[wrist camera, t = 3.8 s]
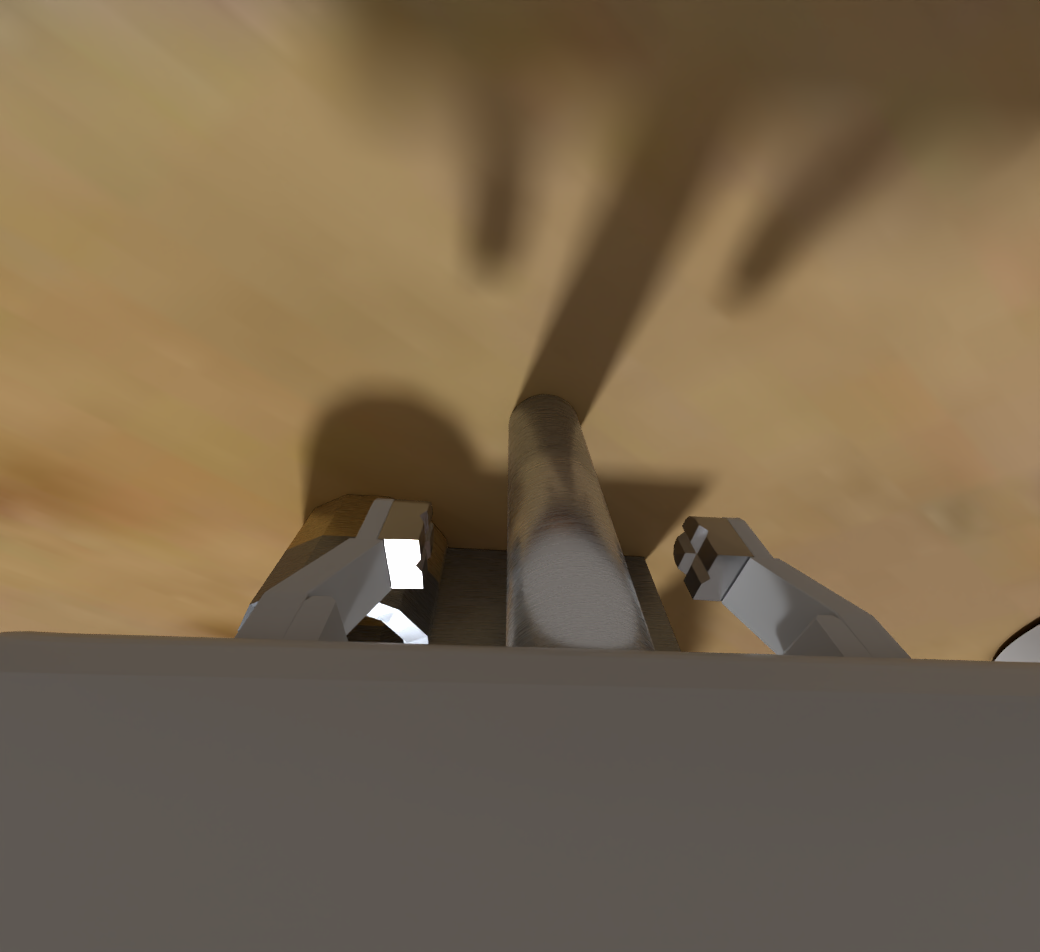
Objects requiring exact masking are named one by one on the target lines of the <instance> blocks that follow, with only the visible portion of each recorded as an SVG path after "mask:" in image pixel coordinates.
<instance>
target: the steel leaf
mask: <svg viewBox="0 0 1040 952" xmlns="http://www.w3.org/2000/svg"><path fill="white" fill-rule="evenodd" d="M349 538H356V537H351V536H330V535H322V536H319V537H317V538H315V539H312V540H310V541H307V542H305V543H302V544H300V545H297V546H295V547H293V548H290V549H288V550H286V552H285V553H284V555H283V556H282V557H281V559H280V560H279V562H278V563H277V565H276V566H275V568H274V569H273V571H272V572H271V574H270V575H269V577H268V578H267V580H266V581H265V583H264V584H263V586H262V587H261V589H260V590H259V591H258V593H257V594H256V596H255V597H254V599H253V600H252V602H251V603H250V605H249V607H248V610H247V612H246V614H245V616H244V618H243V620H242V623H241V625H240V627H239V629H238V632H239V630H240V629H241V627H242V626H243V624H244V623H245V621H246V620H247V618H248V617H249V615H250V614H251V612H252V611H253V609H254V608H255V606H256V605H257V603H258V602H259V600H260V599H261V597H262V596H263V594H264V593H265V592H266V591H268V590H269V589H271V588H272V587H274V586H275V585H277V584H278V583H280V582H282V581H283V580H285V579H286V578H288V577H289V576H291V575H293V574H294V573H296V572H297V571H299V570H300V569H302V568H304V567H305V566H307V565H308V564H310V563H311V562H313V561H315V560H316V559H318V558H319V557H321V556H322V555H324V554H326V553H327V552H329V551H330V550H332V549H333V548H335V547H337V546H338V545H340V544H341V543H343V542H344V541H346V540H348V539H349ZM624 559H625V562H626V565H627V568H628V571H629V574H630V577H631V580H632V583H633V586H634V589H635V592H636V595H637V598H638V601H639V604H640V607H641V610H642V613H643V616H644V619H645V622H646V625H647V628H648V631H649V634H650V637H651V640H652V643H653V646H654V649H655V651H674V652H681V650H680V648H679V645H678V643H677V640H676V638H675V635H674V633H673V630H672V628H671V625H670V622H669V620H668V617H667V615H666V612H665V610H664V607H663V605H662V602H661V599H660V597H659V594H658V592H657V589H656V587H655V584H654V582H653V579H652V577H651V574H650V571H649V569H648V566H647V564H646V561H645V559H644V557H632V556H624ZM506 608H507V551H502V550H481V549H459V548H447V551H446V556H445V561H444V567H443V572H442V577H441V582H440V587H439V583H438V581H437V580H436V579H435V578H434V577H433V575H432V574H431V573H430V572H429V571H427V575H426V579H425V583H424V587H423V589H419V588H391V591H390V592H389V593H388V594H387V595H386V596H385V597H384V598H383V599H382V600H381V601H380V602H379V603H378V604H377V605H376V606H375V607H374V608H373V609H372V610H371V611H370V612H369V613H368V614H367V615H366V616H369V617H372V618H375V619H378V620H381V621H382V622H384V623H385V624H386V625H385V626H369V625H356V626H355V627H354V628H353V629H352V630H351V631H350V632H349V633H348V634H347V635H346V636H347V639H348V642H378V643H411V644H444V645H477V646H506Z"/></svg>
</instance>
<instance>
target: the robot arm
mask: <svg viewBox="0 0 1040 952" xmlns="http://www.w3.org/2000/svg"><path fill="white" fill-rule="evenodd" d="M432 514H433V509H432V503H431V502H427V501H414V500H401V499H384V498H377V499H376V500H374V501H373V503H372V505H371V507H370V509H369V511H368V514H367V516H366V518H365V520H364V522H363V524H362V526H361V528H360V530H359V532H358V534H357V536H356V538H349V539H348V540H346V541H344V542H343V543H341V544H340V545H338V546H337V547H335V548H333V549H332V550H330V551H329V552H327V553H326V554H324V555H322V556H321V557H319V558H318V559H316V560H315V561H313V562H311V563H310V564H308V565H307V566H305V567H304V568H302V569H300V570H299V571H297V572H296V573H294V574H293V575H291V576H289V577H288V578H286V579H285V580H283V581H282V582H280V583H278V584H277V585H275V586H274V587H272V588H271V589H269V590H268V591H266V592H265V593H264V594H263V596H262V597H261V599H260V600H259V602H258V603H257V605H256V606H255V608H254V609H253V611H252V612H251V614H250V615H249V617H248V618H247V620H246V621H245V623H244V624H243V626H242V627H241V629H240V630H239V632H238V633H237V635H236V636H235V638H213V637H178V636H144V635H110V634H76V633H54V632H34V631H15V632H1V633H0V952H1040V625H1038V626H1036V627H1035V628H1033V629H1031V630H1030V631H1028V632H1027V633H1025V634H1023V635H1022V636H1021V637H1019V638H1018V639H1016V640H1015V641H1014V642H1012V643H1011V644H1010V645H1009V646H1008V647H1006V648H1005V649H1004V650H1003V651H1002V652H1001V653H1000V654H999V656H998V657H997V658H996V660H995V661H968V660H936V659H911V658H910V656H909V655H908V654H907V653H906V652H905V651H904V650H903V649H902V648H901V647H900V645H899V644H898V643H897V642H896V641H895V640H894V639H893V638H892V637H891V636H890V634H889V633H888V632H887V631H886V630H885V629H884V628H883V627H882V626H881V624H880V623H879V622H878V621H877V620H876V619H875V618H874V617H873V616H872V615H870V614H869V613H867V612H865V611H864V610H862V609H860V608H859V607H857V606H856V605H854V604H852V603H851V602H849V601H847V600H846V599H844V598H842V597H841V596H839V595H838V594H836V593H834V592H833V591H831V590H829V589H828V588H826V587H824V586H823V585H821V584H820V583H818V582H816V581H815V580H813V579H811V578H810V577H808V576H806V575H805V574H803V573H802V572H800V571H798V570H797V569H795V568H793V567H792V566H790V565H788V564H787V563H785V562H784V561H782V560H780V559H775V558H773V557H772V556H771V554H770V553H769V552H768V550H767V549H766V548H765V547H764V545H763V544H762V543H761V541H760V540H759V539H758V538H757V536H756V535H755V534H754V532H753V531H752V530H751V529H750V527H749V526H748V525H747V523H746V522H745V521H744V520H742V519H740V518H727V517H722V518H717V517H697V516H689V517H688V518H687V519H685V521H684V523H683V525H682V527H683V529H684V533H682V534H681V535H680V536H678V537H677V539H676V541H675V544H674V551H673V555H674V560H675V563H676V565H677V567H678V569H680V570H681V571H682V572H683V573H685V574H686V576H685V578H684V582H685V584H686V586H687V588H688V590H689V592H690V594H691V596H692V598H693V599H695V600H710V601H722V604H723V605H725V606H726V607H727V608H728V609H729V610H730V611H731V612H732V613H733V614H734V615H735V616H736V617H737V618H738V619H739V620H741V621H742V622H743V623H744V624H745V625H746V626H747V627H748V628H749V629H750V630H751V631H752V632H753V633H754V634H755V635H757V636H758V637H759V638H760V639H761V640H762V641H763V642H764V643H765V644H766V645H767V646H768V647H769V648H770V649H772V650H773V651H774V652H775V653H776V654H777V655H774V654H741V653H708V652H674V651H640V650H608V649H576V648H543V647H510V646H477V645H444V644H411V643H378V642H348V639H347V636H346V635H347V634H348V633H349V632H350V631H351V630H352V629H353V628H354V627H355V626H356V625H357V624H358V623H359V622H360V621H361V620H362V619H363V618H364V617H365V616H366V615H367V614H368V613H369V612H370V611H371V610H372V609H373V608H374V607H375V606H376V605H377V604H378V603H379V602H380V601H381V600H382V599H383V598H384V597H385V596H386V595H387V594H388V593H389V592H390V591H391V588H419V589H423V587H424V583H425V579H426V575H427V571H428V565H427V560H428V559H429V558H430V557H431V554H432V549H433V541H434V525H433V524H432V523H431V518H432Z"/></svg>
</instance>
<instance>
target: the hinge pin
mask: <svg viewBox="0 0 1040 952" xmlns="http://www.w3.org/2000/svg"><path fill="white" fill-rule="evenodd" d="M506 646H510V647H543V648H576V649H608V650H640V651H655V649H654V646H653V643H652V640H651V637H650V634H649V631H648V628H647V625H646V622H645V619H644V616H643V613H642V610H641V607H640V604H639V601H638V598H637V595H636V592H635V589H634V586H633V583H632V580H631V577H630V574H629V571H628V568H627V565H626V562H625V559H624V556H623V553H622V550H621V547H620V544H619V541H618V538H617V535H616V532H615V529H614V526H613V523H612V520H611V517H610V514H609V511H608V508H607V505H606V502H605V499H604V496H603V493H602V490H601V487H600V484H599V481H598V478H597V475H596V472H595V469H594V466H593V463H592V460H591V457H590V454H589V451H588V448H587V445H586V442H585V439H584V436H583V433H582V430H581V427H580V424H579V421H578V418H577V415H576V412H575V410H574V409H573V407H572V406H571V405H570V404H569V403H568V402H566V401H565V400H563V399H562V398H559V397H557V396H553V395H537V396H533V397H530V398H528V399H526V400H524V401H523V402H522V403H520V404H519V405H518V406H517V407H516V408H515V410H514V411H513V413H512V415H511V417H510V420H509V438H508V523H507V608H506Z"/></svg>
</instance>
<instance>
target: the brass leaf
mask: <svg viewBox="0 0 1040 952" xmlns="http://www.w3.org/2000/svg"><path fill="white" fill-rule="evenodd" d="M377 498H384V499H392V498H390V497H377V496H359V495H345V496H343V497H341V498H338V499H336V500H334V501H331V502H329V503H327V504H324V505H322V506H320V507H317V508H315V509H314V510H313V512H312V513H311V515H310V516H309V518H308V519H307V521H306V522H305V523H304V525H303V526H302V528H301V529H300V531H299V532H298V534H297V535H296V537H295V538H294V540H293V541H292V543H291V544H290V546H289V547H288V549H290V548H293V547H295V546H297V545H300V544H302V543H305V542H307V541H310V540H312V539H315V538H317V537H319V536H322V535H330V536H351V537H356V536H357V534H358V532H359V530H360V528H361V526H362V524H363V522H364V520H365V518H366V516H367V514H368V511H369V509H370V507H371V505H372V503H373V501H374V500H376V499H377ZM431 523H432V521H431ZM432 524H433V523H432ZM433 525H434V524H433ZM288 549H287V550H288ZM446 551H447V540H446V538H445V537H444V536H443V535H442V534H441V532H440V531H439V530H438V529H437V527H436V526H435V525H434V541H433V549H432V554H431V557H430V558H429V559H428V560H427V565H428V571H429V572H430V573H431V574H432V575H433V577H434V578H435V579H436V580H437V581H438V583H439V587H440V582H441V577H442V572H443V567H444V561H445V556H446ZM357 625H369V626H385V625H386V624H385V623H384V622H382V621H381V620H378V619H375V618H372V617H369V616H365V617H364V618H363V619H362V620H361V621H360V622H359V623H358V624H357Z"/></svg>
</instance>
